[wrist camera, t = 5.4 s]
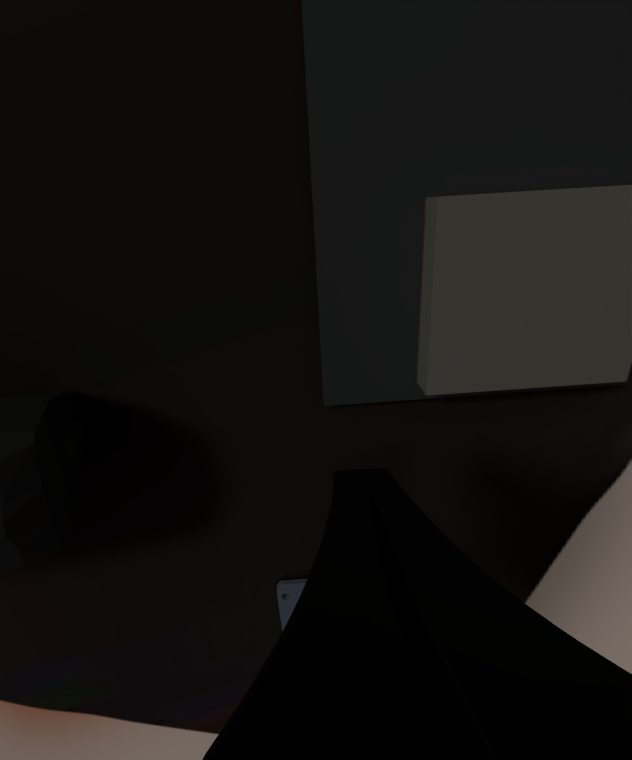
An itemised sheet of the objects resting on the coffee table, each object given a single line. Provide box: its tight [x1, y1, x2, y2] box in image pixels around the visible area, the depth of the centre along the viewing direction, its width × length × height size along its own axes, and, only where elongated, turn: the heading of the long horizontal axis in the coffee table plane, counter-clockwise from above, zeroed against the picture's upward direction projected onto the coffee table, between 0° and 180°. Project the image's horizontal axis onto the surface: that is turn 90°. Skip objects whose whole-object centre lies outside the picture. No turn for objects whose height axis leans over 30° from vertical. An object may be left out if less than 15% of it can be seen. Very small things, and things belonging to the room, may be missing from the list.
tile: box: [416, 185, 632, 396], centre depth 17 cm, size 8×2×9 cm
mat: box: [302, 0, 632, 406], centre depth 17 cm, size 16×15×1 cm
